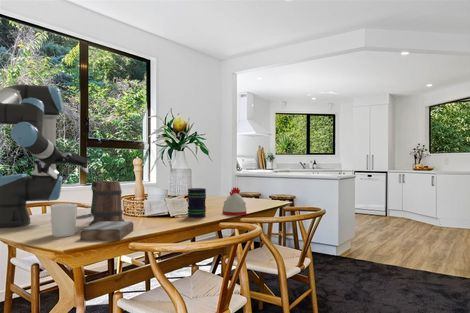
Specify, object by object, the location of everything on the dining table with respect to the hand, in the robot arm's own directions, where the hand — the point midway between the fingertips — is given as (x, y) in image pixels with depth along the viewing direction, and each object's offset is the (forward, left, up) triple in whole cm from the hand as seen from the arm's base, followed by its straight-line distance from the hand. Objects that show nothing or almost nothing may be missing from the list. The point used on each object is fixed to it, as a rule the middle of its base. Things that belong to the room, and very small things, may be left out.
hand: (72, 173), depth 152 cm
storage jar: (+50, +38, -25) cm, 68 cm away
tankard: (+9, +15, -25) cm, 31 cm away
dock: (+19, -10, -24) cm, 33 cm away
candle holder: (+1, -10, -25) cm, 27 cm away
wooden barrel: (-5, +46, -25) cm, 53 cm away
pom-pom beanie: (+71, +51, -25) cm, 91 cm away
